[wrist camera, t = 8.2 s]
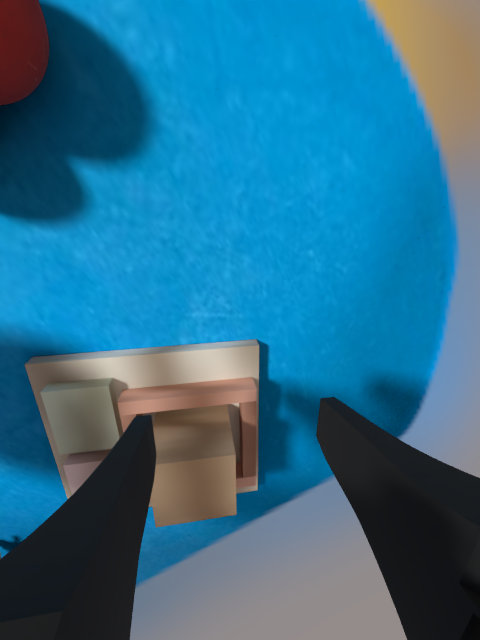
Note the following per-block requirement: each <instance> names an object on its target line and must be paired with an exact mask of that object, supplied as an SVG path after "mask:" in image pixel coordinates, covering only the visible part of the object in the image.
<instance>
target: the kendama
mask: <svg viewBox="0 0 480 640" xmlns="http://www.w3.org/2000/svg"><path fill="white" fill-rule="evenodd" d="M48 59H49V38H48V33H47V27H46V23H45V19H44V16H43V12H42V9H41V6H40V4H39V1H38V0H0V105H5V104H11V103H15V102H17V101H20V100H22V99H23V98H25V97H27V96H28V95H29V94H31V93H32V92H33V91H34V90H35V89H36V88H37V86H38V85H39V84H40V82H41V80H42V79H43V77H44V74H45V72H46V69H47V64H48Z"/></svg>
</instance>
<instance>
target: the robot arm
mask: <svg viewBox="0 0 480 640" xmlns="http://www.w3.org/2000/svg"><path fill="white" fill-rule="evenodd" d="M316 436H317V439H318V441H319V444H320V447H321V449H322V452H323V454H324V456H325V459H326V460H327V462H328V464H329V466H330V468H331V470H332V472H333V473H334V475H335V477H336V479H337V481H338V482H339V484H340V486H341V488H342V489H343V491H344V493H345V495H346V497H347V498H348V500H349V502H350V504H351V506H352V508H353V509H354V511H355V513H356V515H357V517H358V519H359V521H360V523H361V525H362V528H363V530H364V533H365V535H366V537H367V539H368V542H369V544H370V546H371V548H372V551H373V553H374V555H375V558H376V560H377V563H378V565H379V568H380V570H381V572H382V575H383V577H384V579H385V582H386V585H387V587H388V590H389V592H390V595H391V598H392V600H393V603H394V605H395V608H396V610H397V613H398V615H399V618H400V621H401V624H402V626H403V629H404V632H405V635H406V637H407V640H480V478H478V477H475V476H473V475H470V474H468V473H465V472H463V471H461V470H459V469H456V468H454V467H452V466H449V465H447V464H445V463H443V462H441V461H438V460H437V459H435V458H432V457H430V456H429V455H427V454H425V453H423V452H420V451H419V450H417V449H415V448H413V447H411V446H409V445H407V444H406V443H404V442H402V441H401V440H399V439H397V438H396V437H394V436H392V435H391V434H389V433H387V432H386V431H384V430H383V429H381V428H379V427H378V426H376V425H375V424H373V423H372V422H370V421H369V420H367V419H366V418H364V417H363V416H361V415H360V414H358V413H357V412H355V411H354V410H353V409H351V408H350V407H348V406H347V405H345V404H344V403H342V402H341V401H339V400H338V399H336V398H334V397H330V398H321V400H320V409H319V417H318V425H317V434H316ZM156 455H157V454H156V446H155V439H154V431H153V424H152V416H151V415H144V416H136V417H135V418H134V419H133V420H132V421H131V423H130V424H129V426H128V427H127V429H126V430H125V431H124V433H123V434H122V436H121V437H120V438H119V440H118V441H117V443H116V444H115V445H114V446H113V448H112V449H111V450H110V452H109V453H108V454H107V456H106V457H105V458H104V459H103V461H102V462H101V463H100V464H99V465H98V467H97V468H96V469H95V470H94V471H93V473H92V474H91V475H90V476H89V477H88V478H87V480H86V481H85V482H84V483H83V484H82V485H81V486H80V487H79V488H78V489H77V490H76V492H75V493H74V494H73V495H72V496H71V497H70V498H69V499H68V500H67V501H66V502H65V503H64V504H63V505H62V506H61V507H60V508H59V509H58V510H57V511H56V512H55V513H53V514H52V515H51V516H50V517H49V518H48V519H47V520H46V521H45V522H44V523H43V524H42V525H40V526H39V527H38V528H37V529H36V530H35V531H34V532H33V533H32V534H30V535H29V536H28V537H27V538H26V539H25V540H23V541H22V542H21V543H20V544H19V545H17V546H16V547H15V548H14V549H13V550H11V551H10V552H9V553H8V554H6V555H5V556H4V557H3V558H1V559H0V640H129V639H130V629H131V620H132V612H133V602H134V593H135V585H136V577H137V568H138V560H139V553H140V547H141V542H142V537H143V532H144V527H145V522H146V518H147V513H148V508H149V503H150V498H151V493H152V488H153V483H154V477H155V466H156Z"/></svg>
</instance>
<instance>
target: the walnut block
mask: <svg viewBox="0 0 480 640" xmlns="http://www.w3.org/2000/svg"><path fill="white" fill-rule="evenodd" d="M153 431H154V439H155V446H156V454H157V455H156V466H155V477H154V483H153V488H152V493H151V500H152V506H153V512H154V518H155V525H156V527H161V526H167V525H174V524H180V523H187V522H193V521H199V520H206V519H212V518H219V517H225V516H231V515H236V454H235V448H234V443H233V437H232V431H231V426H230V420H229V414H228V409H227V404H224V405H215V406H206V407H197V408H188V409H178V410H169V411H160V412H156V416H155V421H154V426H153Z"/></svg>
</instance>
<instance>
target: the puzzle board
mask: <svg viewBox="0 0 480 640" xmlns="http://www.w3.org/2000/svg"><path fill="white" fill-rule="evenodd" d="M24 365H25V368H26V371H27V374H28V377H29V380H30V383H31V386H32V389H33V393H34V396H35V399H36V402H37V405H38V408H39V411H40V414H41V417H42V420H43V424H44V427H45V430H46V433H47V436H48V439H49V442H50V445H51V448H52V452H53V455H54V458H55V461H56V464H57V467H58V470H59V473H60V476H61V479H62V483H63V486H64V489H65V492H66V495H67V498H68V499H69V498H70V497H71V496H72V495H73V494H74V493H75V492H76V490H77V489H78V488H79V487H80V486H81V485H82V484H83V483H84V482H85V481H86V480H87V478H88V477H89V476H90V475H91V474H92V473H93V471H94V470H95V469H96V468H97V467H98V465H99V464H100V463H101V462H102V461H103V459H104V458H105V457H106V456H107V454H108V453H109V452H110V450H111V449H112V448H113V446H114V445H115V444H116V443H117V441H118V440H119V438H120V437H121V436H122V434H123V433H124V431H125V430H126V429H127V427H128V426H129V424H130V423H131V421H132V420H133V419H134V418H135V417H136V416H144V415H151V416H152V424H153V426H154V421H155V416H156V412H160V411H169V410H178V409H188V408H197V407H206V406H215V405H224V404H227V409H228V414H229V420H230V426H231V431H232V437H233V443H234V448H235V454H236V494H237V493H243V492H250V491H256V490H258V419H259V344H258V342H257V340H256V339H255V340H242V341H229V342H217V343H204V344H191V345H178V346H166V347H153V348H140V349H128V350H115V351H102V352H89V353H77V354H64V355H51V356H39V357H32V358H31V359H30V360H29V361H28V362H27V363H26V364H24ZM149 507H152V500H151V498H150V503H149Z"/></svg>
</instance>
